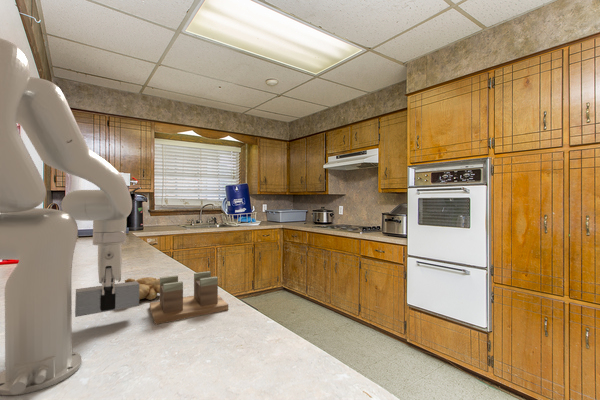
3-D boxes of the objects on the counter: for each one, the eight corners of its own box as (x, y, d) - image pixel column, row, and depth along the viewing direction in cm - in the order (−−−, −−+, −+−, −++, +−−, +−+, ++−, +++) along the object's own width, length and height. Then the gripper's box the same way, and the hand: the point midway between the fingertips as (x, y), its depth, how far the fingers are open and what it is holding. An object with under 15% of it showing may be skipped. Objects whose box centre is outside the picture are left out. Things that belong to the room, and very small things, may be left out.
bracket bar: (139, 305, 81) (139, 283, 82) (75, 317, 73) (76, 292, 73) (136, 302, 85) (136, 281, 85) (75, 312, 76) (75, 289, 76)
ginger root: (162, 283, 111) (163, 263, 110) (172, 305, 99) (173, 284, 97) (114, 292, 102) (113, 271, 100) (118, 318, 90) (117, 294, 88)
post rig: (228, 309, 89) (228, 278, 89) (154, 324, 78) (154, 288, 78) (215, 296, 101) (215, 268, 101) (149, 307, 90) (149, 276, 90)
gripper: (126, 240, 74) (125, 313, 74) (125, 235, 88) (123, 297, 88) (90, 242, 70) (88, 319, 70) (94, 236, 84) (93, 301, 84)
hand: (108, 306), depth 79 cm, fingers closed on bracket bar, 4 cm apart
